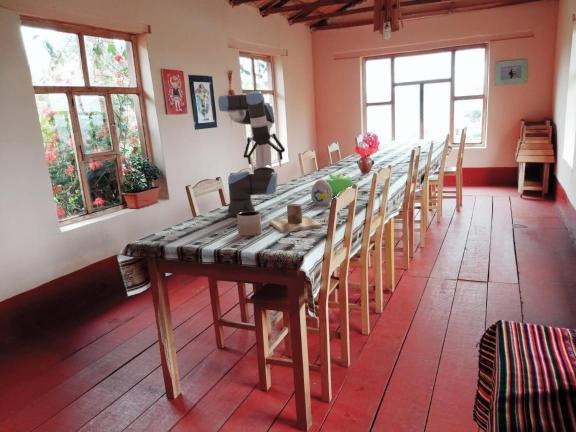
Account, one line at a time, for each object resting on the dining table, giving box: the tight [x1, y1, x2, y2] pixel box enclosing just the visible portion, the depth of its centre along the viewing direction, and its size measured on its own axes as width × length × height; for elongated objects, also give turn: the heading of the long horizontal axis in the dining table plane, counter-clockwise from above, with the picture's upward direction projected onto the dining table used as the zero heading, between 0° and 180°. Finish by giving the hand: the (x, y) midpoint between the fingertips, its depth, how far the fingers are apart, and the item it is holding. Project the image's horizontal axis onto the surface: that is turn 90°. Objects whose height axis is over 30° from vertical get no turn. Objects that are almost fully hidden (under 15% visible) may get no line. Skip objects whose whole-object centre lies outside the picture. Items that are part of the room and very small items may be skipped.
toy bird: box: [324, 172, 355, 197], centre depth 290 cm, size 18×17×15 cm
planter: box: [236, 210, 262, 237], centre depth 213 cm, size 11×11×10 cm
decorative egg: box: [310, 179, 333, 207], centre depth 268 cm, size 12×12×15 cm
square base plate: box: [269, 203, 323, 233], centre depth 223 cm, size 20×20×10 cm
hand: (267, 168), depth 225 cm, fingers open, 13 cm apart
